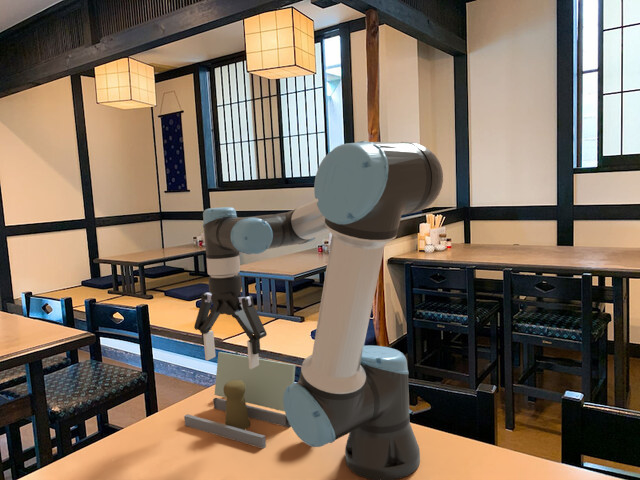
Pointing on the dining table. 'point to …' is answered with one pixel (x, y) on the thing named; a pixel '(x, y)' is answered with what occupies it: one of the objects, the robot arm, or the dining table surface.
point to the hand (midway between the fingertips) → (231, 362)
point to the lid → (255, 379)
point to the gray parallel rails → (235, 432)
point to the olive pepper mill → (236, 405)
